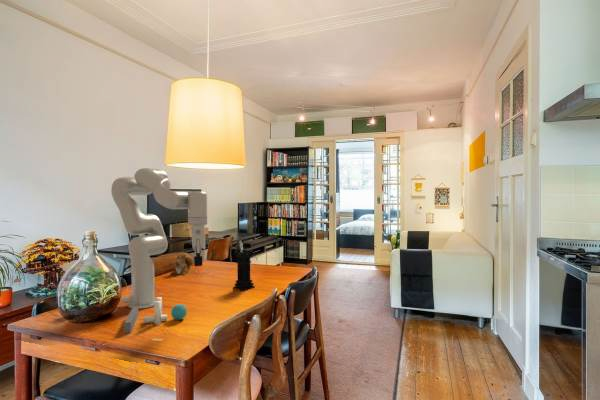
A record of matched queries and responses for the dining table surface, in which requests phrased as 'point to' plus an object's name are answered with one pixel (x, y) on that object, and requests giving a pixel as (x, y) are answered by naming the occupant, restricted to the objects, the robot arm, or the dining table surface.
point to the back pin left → (159, 300)
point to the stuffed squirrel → (182, 264)
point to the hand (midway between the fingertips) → (198, 265)
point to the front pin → (151, 318)
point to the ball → (179, 312)
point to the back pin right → (157, 312)
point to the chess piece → (243, 270)
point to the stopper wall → (131, 320)
